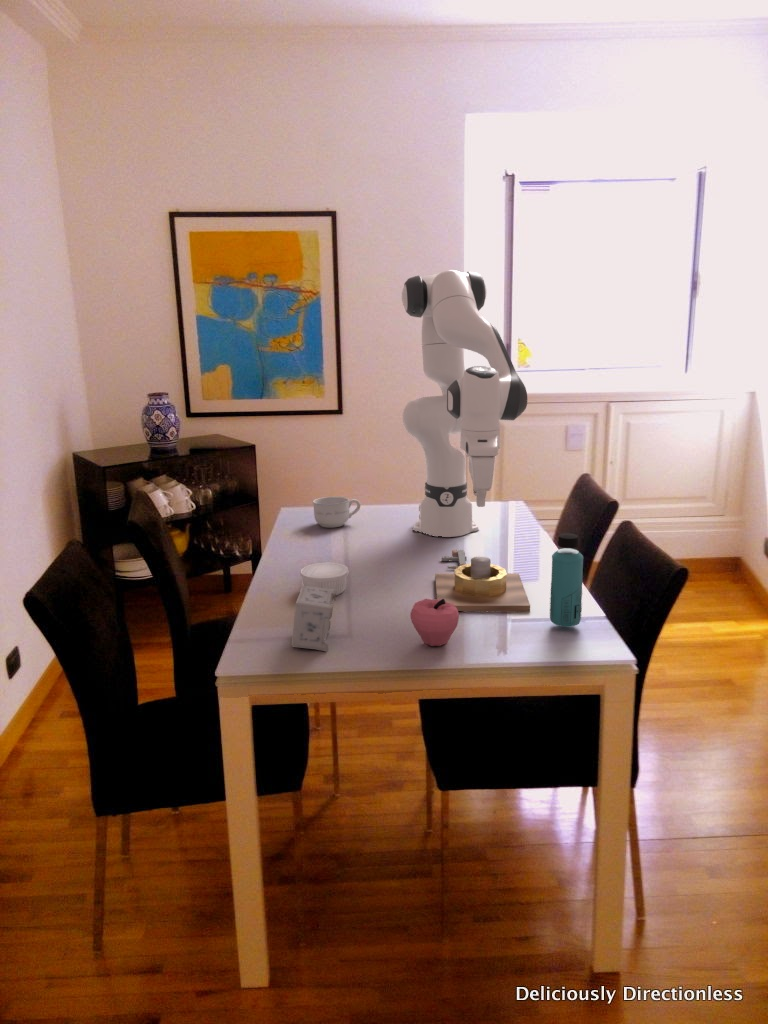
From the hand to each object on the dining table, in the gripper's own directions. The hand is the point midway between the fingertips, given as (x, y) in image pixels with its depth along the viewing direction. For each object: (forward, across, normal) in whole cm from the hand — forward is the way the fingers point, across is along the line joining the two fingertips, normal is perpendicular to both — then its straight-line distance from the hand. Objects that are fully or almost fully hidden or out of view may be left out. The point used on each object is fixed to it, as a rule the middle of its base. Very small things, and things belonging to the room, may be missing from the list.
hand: (478, 500), depth 185 cm
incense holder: (+21, +31, -35) cm, 51 cm away
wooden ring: (+19, +5, 0) cm, 20 cm away
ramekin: (+21, +3, -36) cm, 42 cm away
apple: (+21, +32, -11) cm, 39 cm away
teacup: (+22, -50, -38) cm, 67 cm away
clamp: (+22, -14, -3) cm, 26 cm away
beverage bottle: (+21, +24, +16) cm, 35 cm away
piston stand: (+21, +6, 0) cm, 22 cm away
